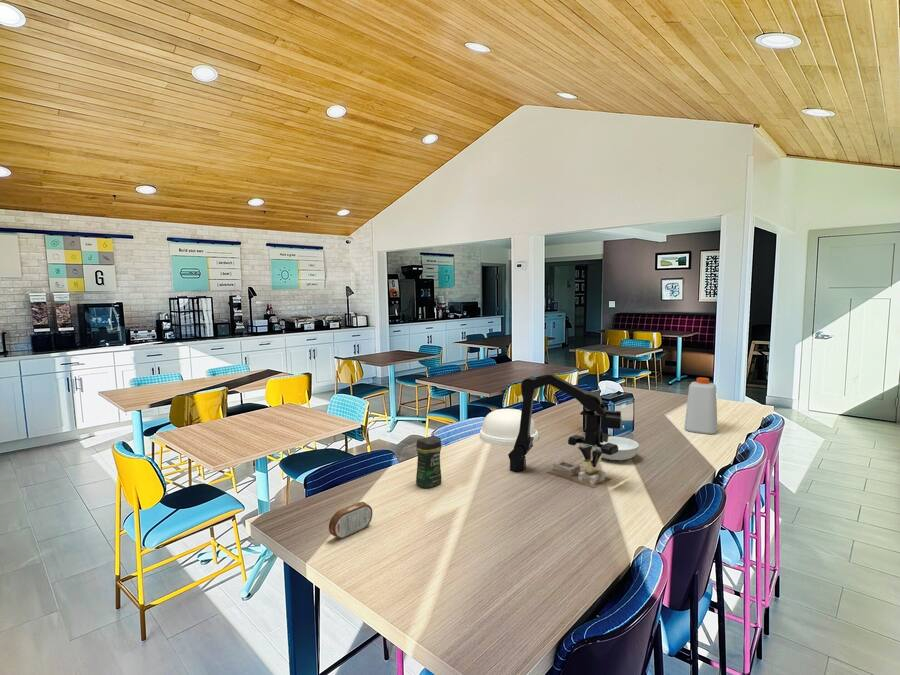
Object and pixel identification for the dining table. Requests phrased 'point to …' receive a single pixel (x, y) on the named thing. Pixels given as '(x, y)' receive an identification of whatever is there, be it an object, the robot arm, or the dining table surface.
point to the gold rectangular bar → (590, 466)
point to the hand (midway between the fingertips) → (591, 466)
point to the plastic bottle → (701, 407)
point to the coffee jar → (428, 462)
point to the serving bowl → (621, 448)
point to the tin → (350, 520)
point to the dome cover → (504, 427)
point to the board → (578, 474)
